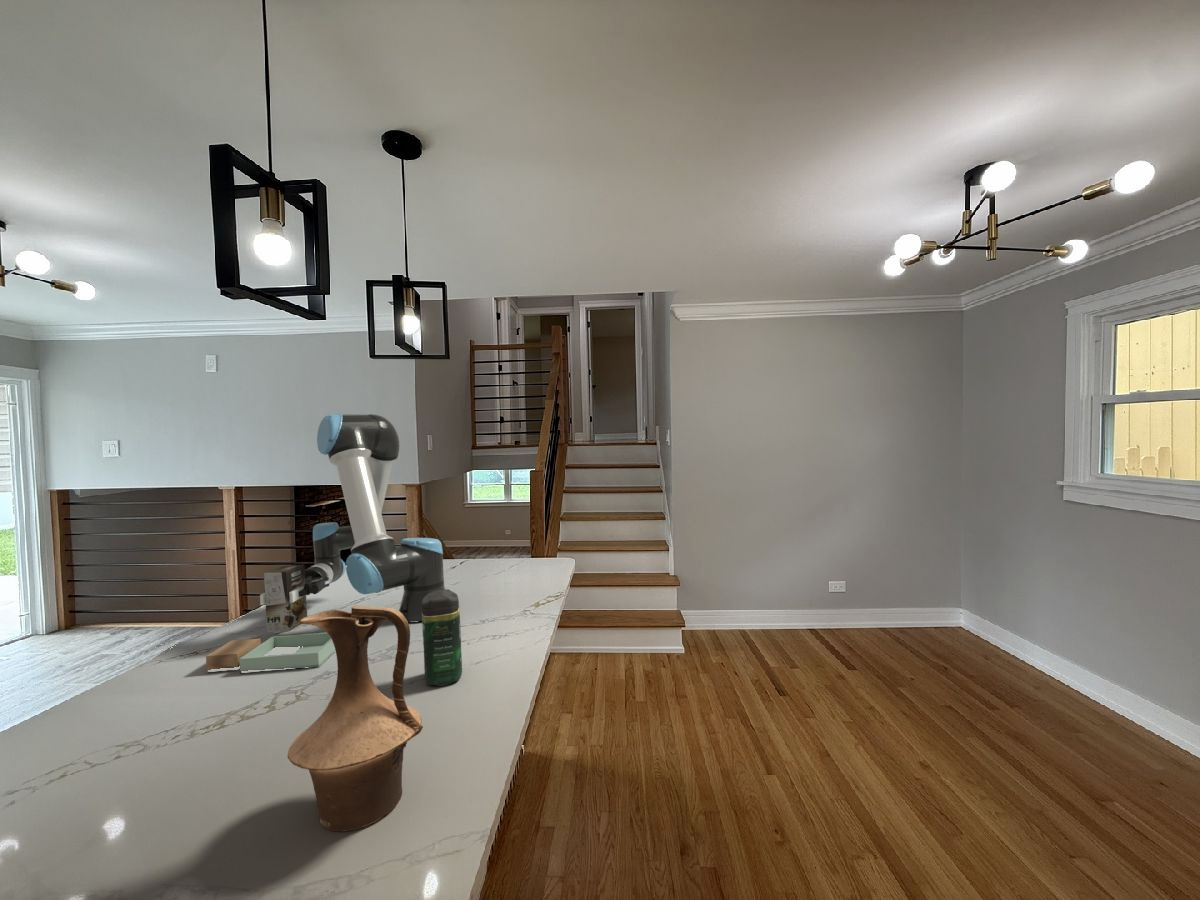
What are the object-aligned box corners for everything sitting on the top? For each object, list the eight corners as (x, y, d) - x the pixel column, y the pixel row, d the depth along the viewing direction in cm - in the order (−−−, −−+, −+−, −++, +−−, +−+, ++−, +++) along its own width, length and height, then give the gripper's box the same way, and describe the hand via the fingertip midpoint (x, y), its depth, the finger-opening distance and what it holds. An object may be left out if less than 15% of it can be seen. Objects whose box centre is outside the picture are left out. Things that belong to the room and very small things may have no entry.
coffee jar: (463, 683, 113) (459, 596, 113) (424, 690, 111) (419, 601, 111) (462, 665, 123) (457, 584, 122) (426, 671, 120) (421, 589, 120)
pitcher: (441, 764, 85) (431, 587, 84) (406, 845, 68) (393, 624, 67) (328, 772, 84) (317, 594, 84) (263, 856, 67) (249, 633, 67)
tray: (343, 644, 141) (342, 631, 140) (319, 667, 126) (318, 652, 126) (273, 650, 139) (272, 636, 139) (240, 674, 125) (239, 659, 124)
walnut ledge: (261, 654, 137) (260, 638, 137) (238, 670, 127) (237, 653, 127) (232, 656, 136) (231, 640, 136) (206, 673, 126) (205, 656, 126)
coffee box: (290, 631, 143) (286, 571, 143) (266, 632, 143) (262, 572, 143) (309, 620, 152) (305, 563, 152) (286, 621, 152) (283, 565, 152)
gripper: (349, 587, 166) (316, 609, 144) (282, 593, 165) (238, 616, 142) (347, 563, 166) (314, 581, 143) (280, 568, 165) (236, 587, 142)
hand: (276, 598), depth 143 cm, fingers closed on coffee box, 7 cm apart
